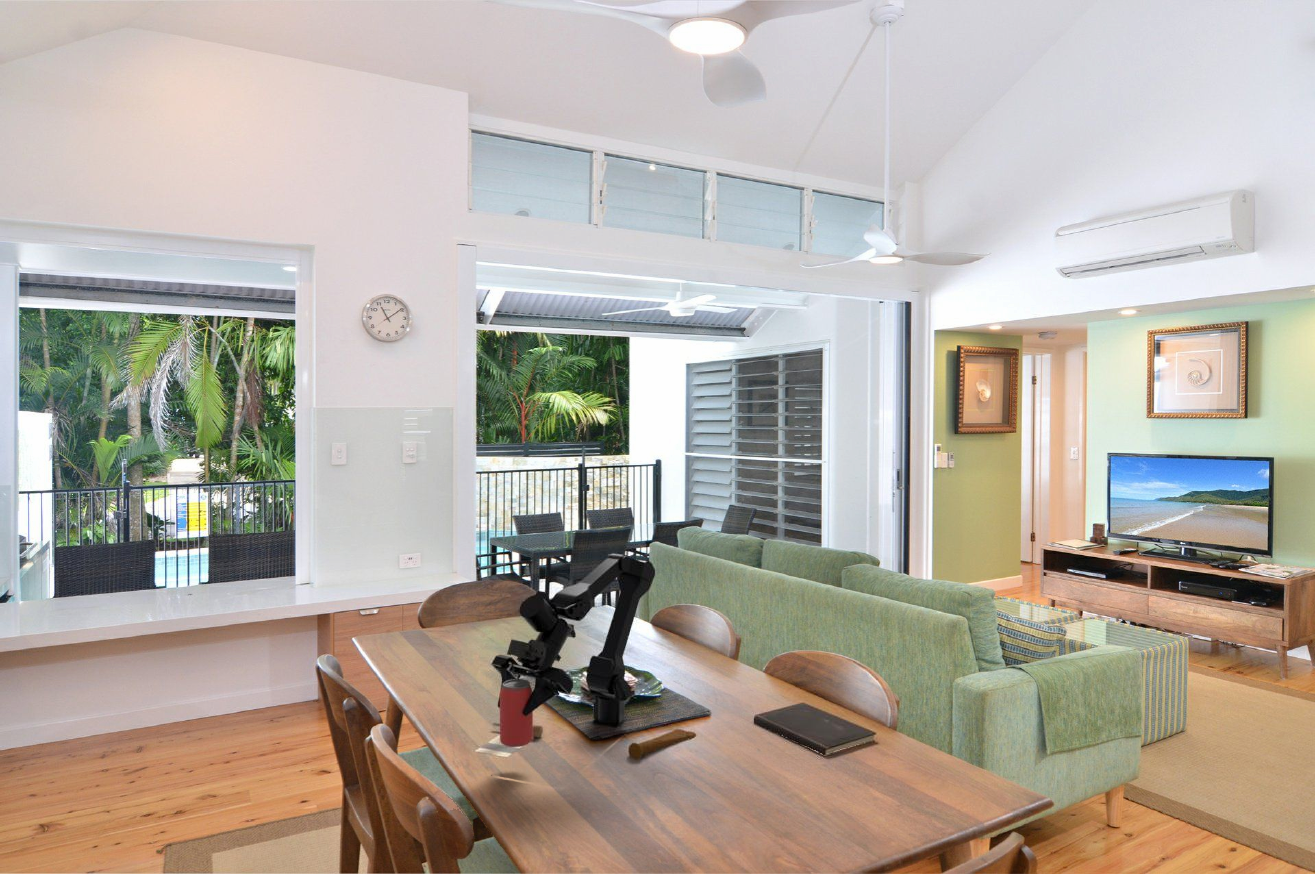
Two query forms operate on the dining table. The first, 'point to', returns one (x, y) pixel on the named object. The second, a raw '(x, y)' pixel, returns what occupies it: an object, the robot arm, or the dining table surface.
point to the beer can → (515, 713)
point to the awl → (536, 730)
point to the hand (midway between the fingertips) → (511, 711)
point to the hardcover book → (814, 728)
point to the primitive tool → (659, 742)
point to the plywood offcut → (497, 748)
